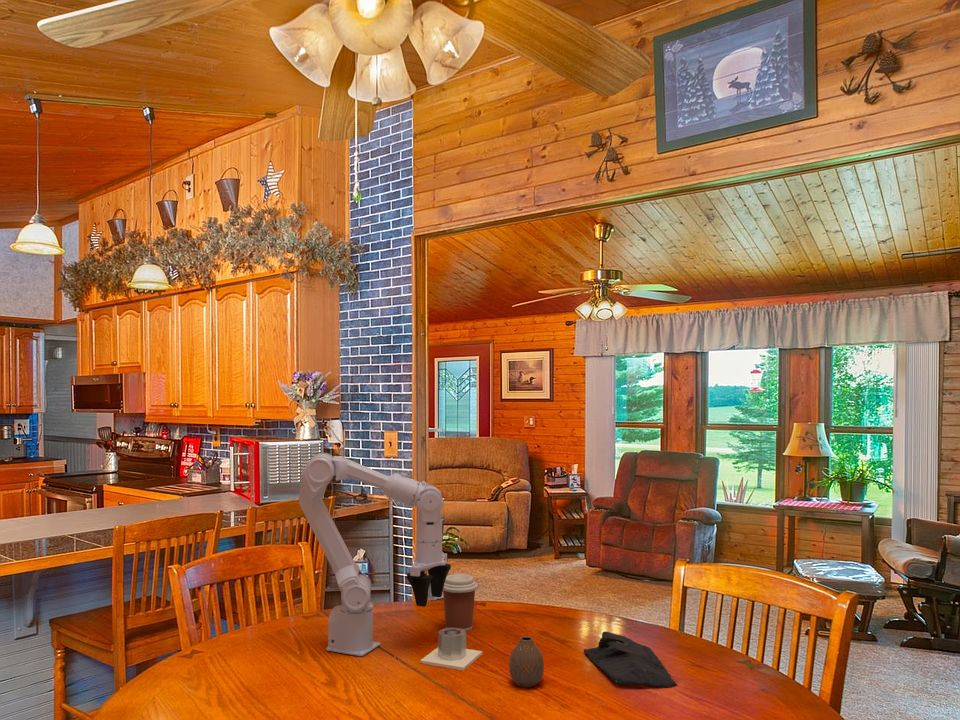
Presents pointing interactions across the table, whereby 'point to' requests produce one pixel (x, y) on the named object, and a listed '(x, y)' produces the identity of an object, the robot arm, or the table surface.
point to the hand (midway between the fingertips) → (429, 601)
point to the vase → (526, 663)
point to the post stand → (456, 664)
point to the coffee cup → (459, 601)
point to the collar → (452, 644)
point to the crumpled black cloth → (629, 662)
